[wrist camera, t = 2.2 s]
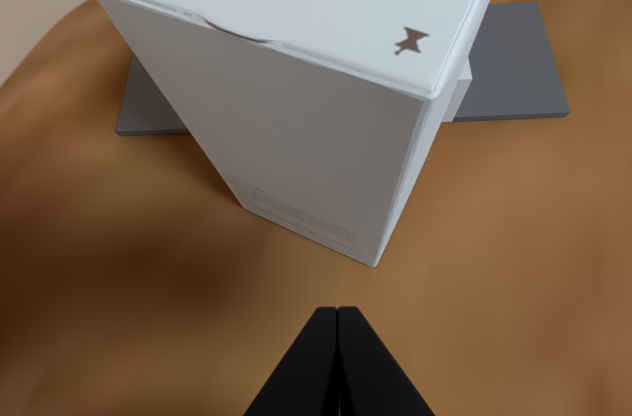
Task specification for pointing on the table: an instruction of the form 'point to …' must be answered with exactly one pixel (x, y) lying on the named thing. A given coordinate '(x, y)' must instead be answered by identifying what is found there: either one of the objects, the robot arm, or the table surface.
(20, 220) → the table surface
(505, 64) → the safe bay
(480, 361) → the table surface
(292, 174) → the supplement box
